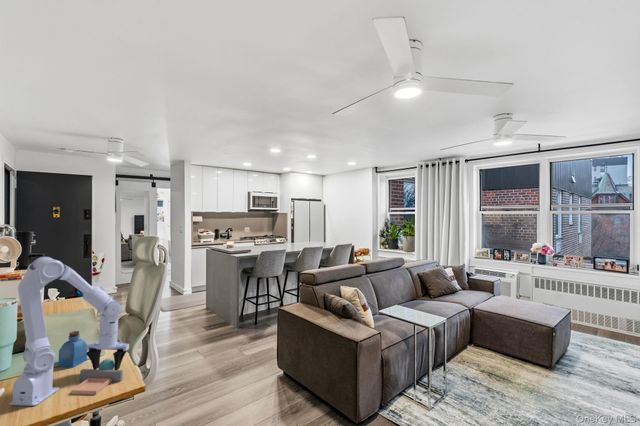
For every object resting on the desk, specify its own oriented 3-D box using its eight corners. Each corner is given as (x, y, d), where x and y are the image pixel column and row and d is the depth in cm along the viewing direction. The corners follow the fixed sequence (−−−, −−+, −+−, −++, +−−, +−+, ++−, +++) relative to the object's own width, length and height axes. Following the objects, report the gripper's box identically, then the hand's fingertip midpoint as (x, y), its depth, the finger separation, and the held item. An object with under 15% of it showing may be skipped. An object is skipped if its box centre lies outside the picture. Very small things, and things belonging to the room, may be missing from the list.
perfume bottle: (86, 360, 126) (88, 330, 127) (73, 367, 120) (74, 336, 120) (72, 359, 127) (73, 329, 127) (58, 366, 121) (59, 334, 121)
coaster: (96, 394, 104) (96, 390, 104) (71, 393, 104) (71, 390, 104) (111, 381, 112) (111, 378, 112) (88, 381, 112) (88, 377, 112)
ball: (109, 376, 115) (109, 362, 115) (95, 376, 115) (95, 362, 115) (117, 369, 120) (118, 356, 120) (104, 369, 120) (104, 356, 120)
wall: (120, 381, 112) (120, 371, 112) (79, 380, 112) (80, 370, 112) (122, 380, 113) (122, 370, 113) (82, 378, 113) (82, 369, 113)
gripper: (134, 329, 122) (132, 364, 122) (95, 327, 122) (94, 363, 121) (123, 336, 115) (121, 373, 115) (82, 334, 115) (80, 372, 114)
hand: (106, 369), depth 118 cm, fingers open, 7 cm apart
